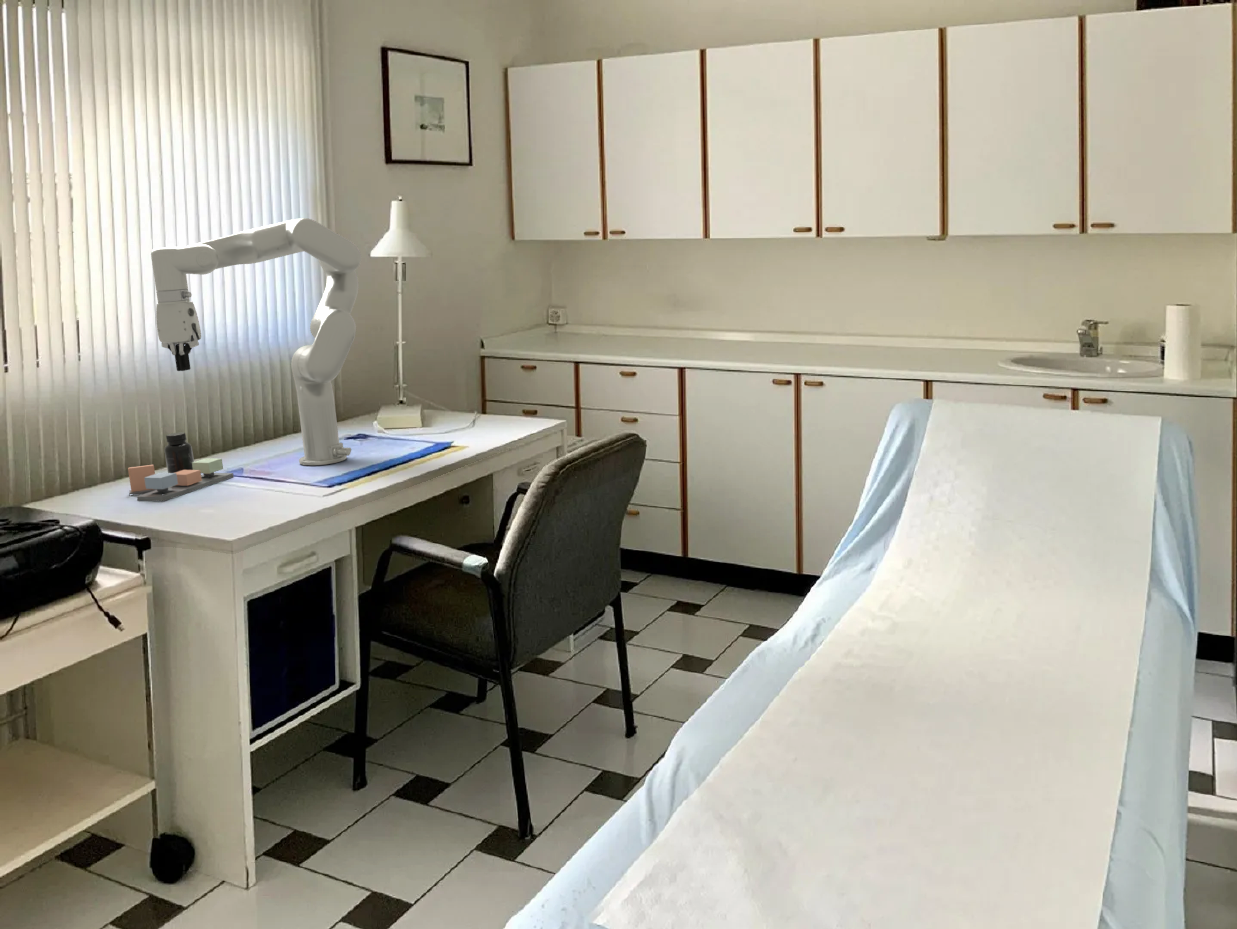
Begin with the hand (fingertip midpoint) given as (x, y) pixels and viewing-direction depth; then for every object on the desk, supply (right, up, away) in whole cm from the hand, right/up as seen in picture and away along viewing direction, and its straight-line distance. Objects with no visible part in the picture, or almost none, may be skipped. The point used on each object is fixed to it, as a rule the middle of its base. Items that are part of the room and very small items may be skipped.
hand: (183, 370), depth 296 cm
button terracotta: (+1, -30, -1) cm, 30 cm away
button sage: (+4, -27, +6) cm, 28 cm away
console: (+1, -30, -1) cm, 30 cm away
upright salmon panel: (-9, -31, -2) cm, 32 cm away
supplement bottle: (-5, -28, +12) cm, 30 cm away
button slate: (-2, -30, -9) cm, 32 cm away
